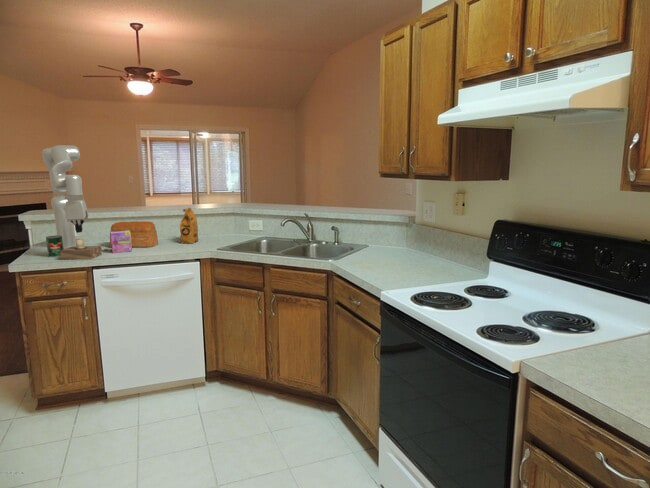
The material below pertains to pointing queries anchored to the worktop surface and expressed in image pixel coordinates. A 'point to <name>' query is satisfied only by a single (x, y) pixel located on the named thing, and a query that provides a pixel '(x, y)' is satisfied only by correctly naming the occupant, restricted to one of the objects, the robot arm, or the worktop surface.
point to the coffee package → (189, 227)
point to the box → (121, 241)
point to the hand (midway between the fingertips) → (79, 232)
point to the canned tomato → (54, 245)
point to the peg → (80, 244)
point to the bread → (138, 233)
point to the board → (80, 253)
